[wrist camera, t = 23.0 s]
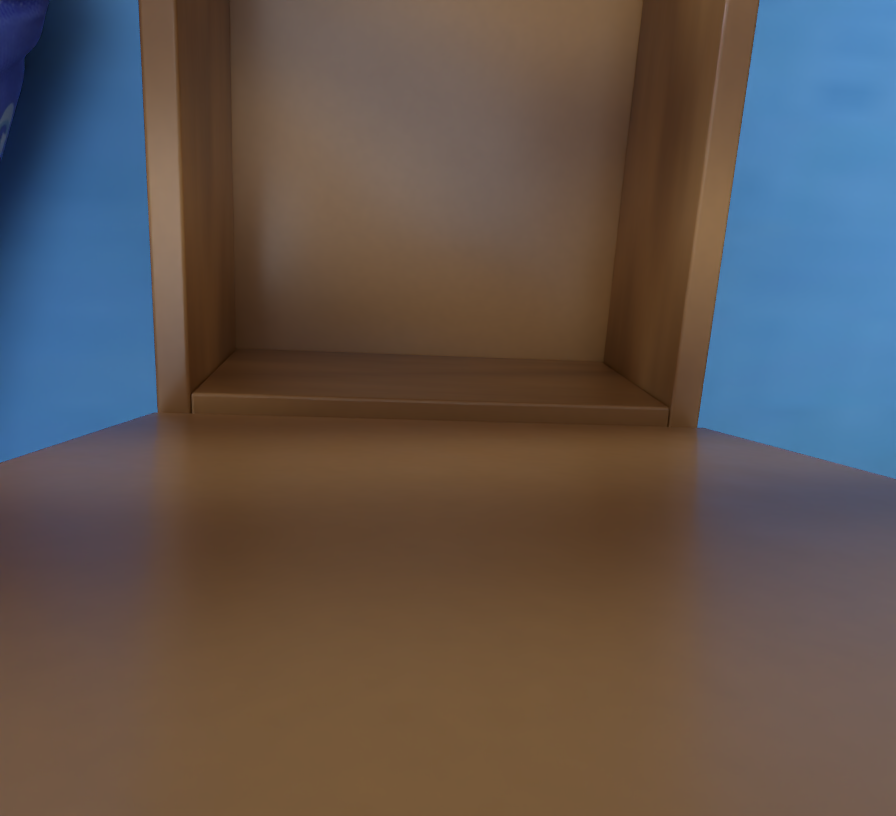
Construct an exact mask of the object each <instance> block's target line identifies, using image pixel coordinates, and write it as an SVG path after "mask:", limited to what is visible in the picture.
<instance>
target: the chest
mask: <svg viewBox="0 0 896 816" xmlns="http://www.w3.org/2000/svg"><path fill="white" fill-rule="evenodd" d="M138 2H139V23H140V44H141V66H142V87H143V108H144V130H145V151H146V172H147V194H148V215H149V237H150V258H151V279H152V301H153V322H154V343H155V365H156V386H157V407H158V413H190V414H225V415H261V416H297V417H333V418H368V419H404V420H440V421H476V422H512V423H547V424H583V425H619V426H655V427H690V428H697V424H698V417H699V410H700V403H701V396H702V390H703V383H704V376H705V369H706V362H707V355H708V349H709V342H710V335H711V328H712V321H713V314H714V307H715V301H716V294H717V287H718V280H719V273H720V266H721V260H722V253H723V246H724V239H725V232H726V225H727V218H728V212H729V205H730V198H731V191H732V184H733V177H734V170H735V164H736V157H737V150H738V143H739V136H740V129H741V123H742V116H743V109H744V102H745V95H746V88H747V81H748V75H749V68H750V61H751V54H752V47H753V40H754V34H755V27H756V20H757V13H758V6H759V0H138Z"/></svg>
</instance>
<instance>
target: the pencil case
mask: <svg viewBox="0 0 896 816" xmlns="http://www.w3.org/2000/svg"><path fill="white" fill-rule="evenodd" d="M48 4H49V0H0V161H1V158H2V155H3V152H4V148H5V145H6V141H7V138H8V134H9V131H10V127H11V124H12V120H13V117H14V113H15V109H16V106H17V102H18V98H19V95H20V91H21V87H22V84H23V80H24V68H25V67H24V57H25V56H26V55H27V54H28V53H29V52H30V51H31V50H32V49H33V48H34V47H35V45H36V44H37V42H38V40H39V38H40V36H41V34H42V30H43V25H44V20H45V15H46V12H47V8H48Z"/></svg>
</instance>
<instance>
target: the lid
mask: <svg viewBox="0 0 896 816" xmlns="http://www.w3.org/2000/svg"><path fill="white" fill-rule="evenodd" d="M0 816H896V479H893V478H890V477H886V476H882V475H878V474H875V473H871V472H867V471H863V470H860V469H856V468H852V467H848V466H845V465H841V464H837V463H833V462H830V461H826V460H822V459H818V458H815V457H811V456H807V455H803V454H800V453H796V452H792V451H788V450H785V449H781V448H777V447H773V446H770V445H766V444H762V443H758V442H755V441H751V440H747V439H743V438H740V437H736V436H732V435H728V434H725V433H721V432H717V431H713V430H709V429H706V428H690V427H655V426H619V425H583V424H547V423H512V422H476V421H440V420H404V419H368V418H333V417H297V416H261V415H225V414H190V413H151V414H148V415H145V416H142V417H139V418H136V419H133V420H130V421H127V422H124V423H121V424H118V425H115V426H112V427H108V428H105V429H102V430H99V431H96V432H93V433H90V434H87V435H84V436H81V437H78V438H75V439H72V440H69V441H66V442H63V443H60V444H57V445H53V446H50V447H47V448H44V449H41V450H38V451H35V452H32V453H29V454H26V455H23V456H20V457H17V458H14V459H11V460H8V461H5V462H1V463H0Z"/></svg>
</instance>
